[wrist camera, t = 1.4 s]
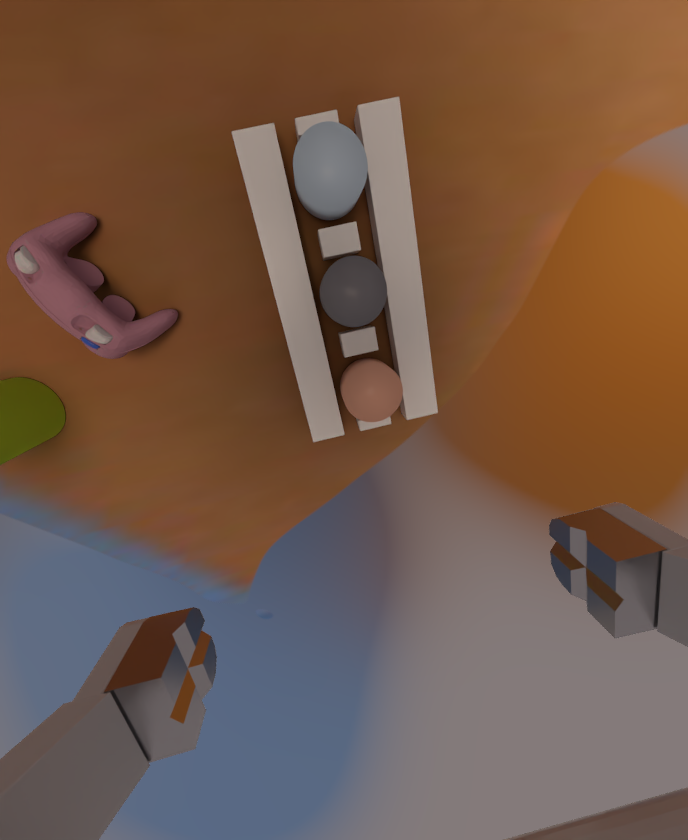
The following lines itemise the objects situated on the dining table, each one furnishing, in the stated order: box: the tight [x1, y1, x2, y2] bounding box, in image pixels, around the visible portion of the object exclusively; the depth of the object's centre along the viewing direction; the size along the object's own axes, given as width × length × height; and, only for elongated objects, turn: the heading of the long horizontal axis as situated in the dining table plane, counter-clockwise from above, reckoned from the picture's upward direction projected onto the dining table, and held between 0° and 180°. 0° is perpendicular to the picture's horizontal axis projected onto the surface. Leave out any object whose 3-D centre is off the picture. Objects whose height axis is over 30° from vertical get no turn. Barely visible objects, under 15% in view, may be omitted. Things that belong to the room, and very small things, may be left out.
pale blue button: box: [293, 121, 368, 220], centre depth 24 cm, size 5×5×3 cm
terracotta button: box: [340, 358, 403, 422], centre depth 29 cm, size 5×5×3 cm
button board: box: [232, 97, 438, 442], centre depth 29 cm, size 24×12×2 cm, turn 12°
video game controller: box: [7, 212, 178, 359], centre depth 25 cm, size 10×5×7 cm, turn 36°
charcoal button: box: [319, 256, 387, 327], centre depth 27 cm, size 5×5×3 cm
